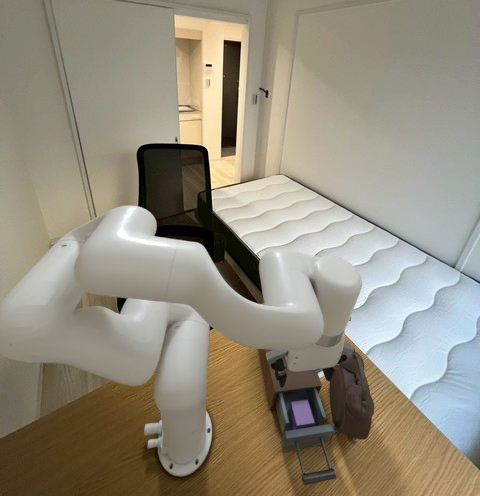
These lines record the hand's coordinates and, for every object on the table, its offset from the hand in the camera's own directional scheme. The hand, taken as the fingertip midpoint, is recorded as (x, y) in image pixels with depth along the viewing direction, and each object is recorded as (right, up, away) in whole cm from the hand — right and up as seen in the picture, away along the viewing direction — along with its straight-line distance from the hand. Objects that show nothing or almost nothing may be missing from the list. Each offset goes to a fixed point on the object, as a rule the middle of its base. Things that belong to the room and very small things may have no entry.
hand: (302, 375), depth 49 cm
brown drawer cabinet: (0, -18, +22) cm, 28 cm away
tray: (+2, -22, +11) cm, 25 cm away
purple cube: (+2, -21, +11) cm, 24 cm away
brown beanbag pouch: (+14, -22, +15) cm, 30 cm away
